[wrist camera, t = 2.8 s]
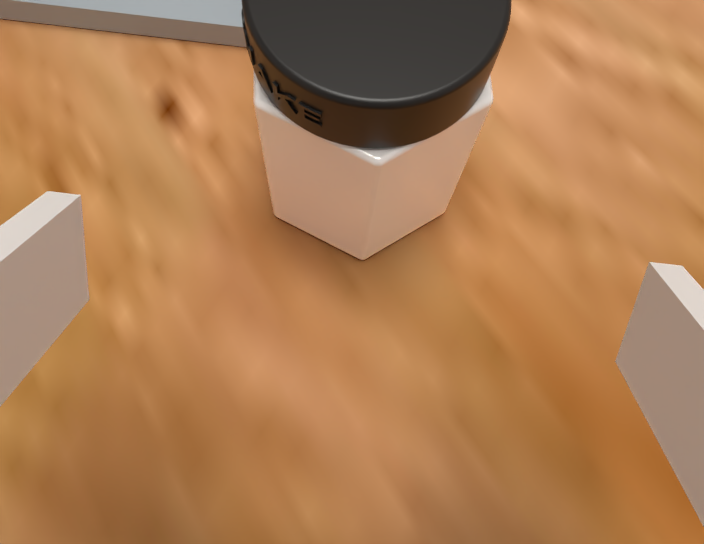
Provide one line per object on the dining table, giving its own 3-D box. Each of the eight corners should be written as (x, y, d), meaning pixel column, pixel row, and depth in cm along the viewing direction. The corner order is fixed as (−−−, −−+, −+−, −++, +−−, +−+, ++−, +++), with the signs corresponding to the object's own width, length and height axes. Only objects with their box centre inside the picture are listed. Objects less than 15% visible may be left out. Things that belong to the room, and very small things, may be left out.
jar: (269, 88, 32) (239, -130, 21) (436, 86, 33) (496, -129, 21) (269, 264, 30) (235, 121, 18) (452, 259, 30) (530, 117, 19)
